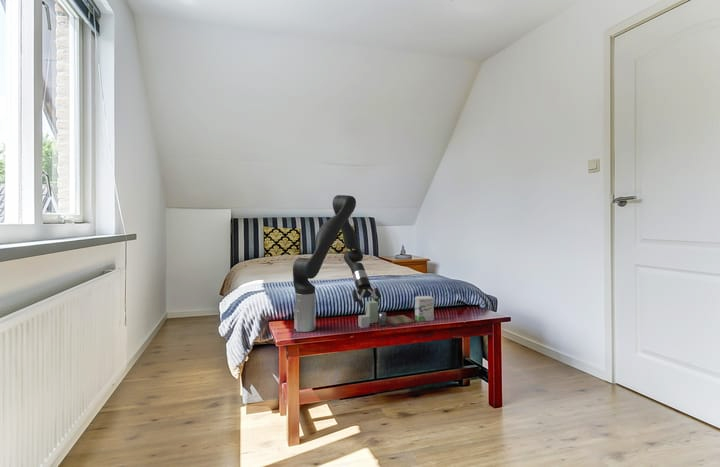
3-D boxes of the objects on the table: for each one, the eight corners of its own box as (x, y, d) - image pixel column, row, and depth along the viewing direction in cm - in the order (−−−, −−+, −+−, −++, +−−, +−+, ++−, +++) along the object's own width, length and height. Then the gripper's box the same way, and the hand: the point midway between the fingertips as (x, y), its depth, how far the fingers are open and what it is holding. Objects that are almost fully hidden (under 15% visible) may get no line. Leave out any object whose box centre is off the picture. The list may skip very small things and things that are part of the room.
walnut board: (393, 325, 189) (393, 323, 189) (382, 319, 200) (382, 317, 200) (415, 322, 194) (415, 320, 194) (403, 316, 205) (403, 314, 205)
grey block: (361, 328, 185) (361, 317, 185) (358, 325, 189) (358, 315, 188) (369, 327, 186) (369, 316, 186) (365, 325, 190) (365, 314, 190)
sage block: (369, 323, 193) (369, 303, 192) (365, 321, 197) (365, 301, 196) (378, 322, 194) (378, 302, 194) (374, 320, 199) (374, 300, 198)
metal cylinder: (380, 326, 187) (380, 314, 186) (377, 324, 190) (377, 312, 190) (387, 326, 188) (387, 313, 188) (384, 324, 191) (384, 311, 191)
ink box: (418, 321, 196) (418, 298, 195) (414, 319, 200) (414, 296, 200) (434, 320, 198) (434, 297, 197) (429, 318, 203) (429, 295, 202)
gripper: (350, 277, 202) (359, 304, 192) (375, 275, 207) (385, 301, 197) (347, 285, 207) (355, 312, 197) (371, 283, 212) (380, 309, 202)
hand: (370, 306), depth 197 cm, fingers open, 8 cm apart
